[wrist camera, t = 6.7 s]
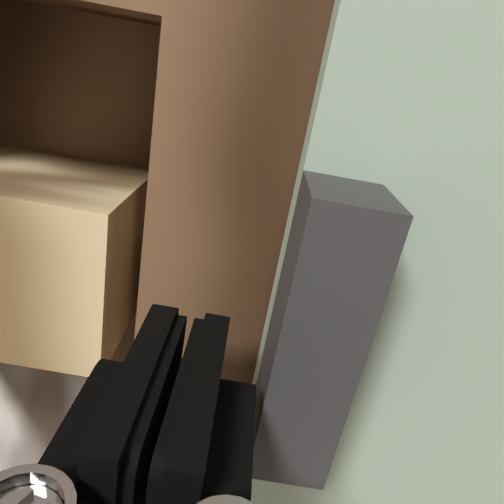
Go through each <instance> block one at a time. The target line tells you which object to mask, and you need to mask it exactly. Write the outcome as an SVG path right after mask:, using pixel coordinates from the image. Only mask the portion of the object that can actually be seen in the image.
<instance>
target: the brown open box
mask: <svg viewBox="0 0 504 504" xmlns="http://www.w3.org/2000/svg"><path fill="white" fill-rule="evenodd" d="M334 2H335V0H0V148H3V147H6V146H9V145H17V146H22V147H28V148H33V149H39V150H44V151H50V152H55V153H61V154H66V155H72V156H77V157H83V158H88V159H94V160H100V161H105V162H111V163H116V164H122V165H127V166H133V167H138V168H144V169H149V172H148V184H147V195H146V207H145V219H144V230H143V242H142V254H141V265H140V277H139V289H138V300H137V312H136V313H135V315H134V317H133V319H132V321H131V323H130V324H129V326H128V328H127V330H126V332H125V334H124V335H123V337H122V339H121V341H120V343H119V345H118V346H117V348H116V350H115V352H114V354H113V356H112V357H111V359H110V360H114V361H120V362H124V360H125V358H126V356H127V354H128V352H129V350H130V348H131V346H132V344H133V342H134V340H135V338H136V336H137V334H138V332H139V330H140V328H141V326H142V324H143V322H144V320H145V318H146V316H147V314H148V312H149V310H150V308H151V306H152V304H159V305H164V306H170V307H176V308H179V315H182V316H187V324H186V331H185V339H184V346H183V353H182V357H183V354H184V351H185V348H186V344H187V341H188V338H189V334H190V331H191V328H192V325H193V321H194V318H200V319H204V317H205V314H206V313H211V314H216V315H222V316H228V317H231V318H230V324H229V330H228V336H227V342H226V348H225V354H224V360H223V366H222V372H221V379H226V380H232V381H238V382H244V383H250V384H252V381H253V376H254V371H255V367H256V362H257V357H258V353H259V348H260V344H261V339H262V334H263V330H264V325H265V320H266V316H267V311H268V307H269V302H270V297H271V293H272V288H273V284H274V279H275V274H276V270H277V265H278V260H279V256H280V251H281V247H282V242H283V237H284V233H285V228H286V223H287V219H288V214H289V210H290V205H291V200H292V196H293V191H294V186H295V182H296V177H297V173H298V168H299V163H300V159H301V154H302V150H303V145H304V140H305V136H306V131H307V126H308V122H309V117H310V113H311V108H312V103H313V99H314V94H315V89H316V85H317V80H318V76H319V71H320V66H321V62H322V57H323V52H324V48H325V43H326V39H327V34H328V29H329V25H330V20H331V16H332V11H333V6H334Z"/></svg>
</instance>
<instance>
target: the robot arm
mask: <svg viewBox="0 0 504 504" xmlns="http://www.w3.org/2000/svg"><path fill="white" fill-rule="evenodd" d="M230 318H231V317H228V316H222V315H216V314H211V313H206V314H205V317H204V319H200V318H194V321H193V325H192V328H191V331H190V334H189V338H188V341H187V344H186V348H185V351H184V354H183V357H182V353H183V346H184V339H185V331H186V324H187V316H182V315H179V308H176V307H170V306H164V305H159V304H152V306H151V308H150V310H149V312H148V314H147V316H146V318H145V320H144V322H143V324H142V326H141V328H140V330H139V332H138V334H137V336H136V338H135V340H134V342H133V344H132V346H131V348H130V350H129V352H128V354H127V356H126V358H125V360H124V362H120V361H114V360H108V359H100V360H99V361H98V362H97V364H96V365H95V367H94V368H93V370H92V372H91V374H90V375H89V377H88V379H87V380H86V382H85V384H84V386H83V387H82V389H81V391H80V392H79V394H78V396H77V397H76V399H75V401H74V403H73V404H72V406H71V408H70V409H69V411H68V413H67V415H66V416H65V418H64V420H63V421H62V423H61V425H60V427H59V428H58V430H57V432H56V433H55V435H54V437H53V439H52V440H51V442H50V444H49V445H48V447H47V449H46V450H45V452H44V454H43V456H42V457H41V459H40V461H39V462H38V464H28V465H19V466H16V467H13V468H9V469H6V470H3V471H1V472H0V504H255V503H253V502H251V491H252V471H253V450H254V430H255V410H256V384H250V383H244V382H238V381H232V380H226V379H221V372H222V366H223V360H224V354H225V348H226V342H227V336H228V330H229V324H230Z"/></svg>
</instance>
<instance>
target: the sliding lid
mask: <svg viewBox="0 0 504 504" xmlns="http://www.w3.org/2000/svg"><path fill="white" fill-rule="evenodd" d="M252 384H256V410H255V430H254V450H253V471H252V491H251V502H253V503H255V504H504V0H335V2H334V6H333V11H332V16H331V20H330V25H329V29H328V34H327V39H326V43H325V48H324V52H323V57H322V62H321V66H320V71H319V76H318V80H317V85H316V89H315V94H314V99H313V103H312V108H311V113H310V117H309V122H308V126H307V131H306V136H305V140H304V145H303V150H302V154H301V159H300V163H299V168H298V173H297V177H296V182H295V186H294V191H293V196H292V200H291V205H290V210H289V214H288V219H287V223H286V228H285V233H284V237H283V242H282V247H281V251H280V256H279V260H278V265H277V270H276V274H275V279H274V284H273V288H272V293H271V297H270V302H269V307H268V311H267V316H266V320H265V325H264V330H263V334H262V339H261V344H260V348H259V353H258V357H257V362H256V367H255V371H254V376H253V381H252Z"/></svg>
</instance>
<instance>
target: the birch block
mask: <svg viewBox="0 0 504 504" xmlns="http://www.w3.org/2000/svg"><path fill="white" fill-rule="evenodd" d="M148 172H149V169H144V168H138V167H133V166H127V165H122V164H116V163H111V162H105V161H100V160H94V159H88V158H83V157H77V156H72V155H66V154H61V153H55V152H50V151H44V150H39V149H33V148H28V147H22V146H17V145H9V146H6V147H3V148H0V363H6V364H12V365H18V366H24V367H30V368H36V369H42V370H48V371H54V372H60V373H66V374H72V375H78V376H84V377H89V375H90V374H91V372H92V370H93V368H94V367H95V365H96V364H97V362H98V361H99V360H100V359H108V360H110V359H111V357H112V356H113V354H114V352H115V350H116V348H117V346H118V345H119V343H120V341H121V339H122V337H123V335H124V334H125V332H126V330H127V328H128V326H129V324H130V323H131V321H132V319H133V317H134V315H135V313H136V312H137V300H138V289H139V277H140V265H141V254H142V242H143V230H144V219H145V207H146V195H147V184H148Z"/></svg>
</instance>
